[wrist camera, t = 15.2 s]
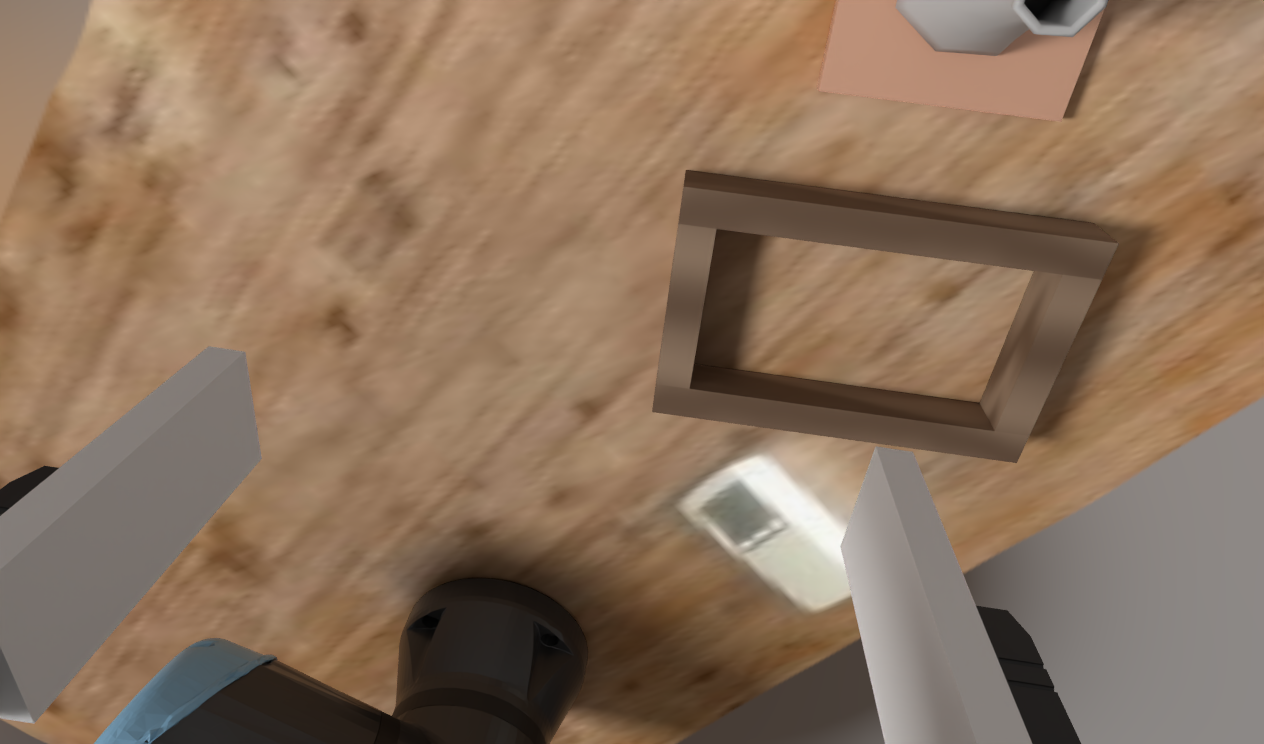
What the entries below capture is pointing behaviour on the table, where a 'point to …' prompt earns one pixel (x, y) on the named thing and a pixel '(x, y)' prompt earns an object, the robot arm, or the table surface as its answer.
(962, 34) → the flask
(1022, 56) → the terracotta tile
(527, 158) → the table surface
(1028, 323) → the block
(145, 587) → the robot arm
